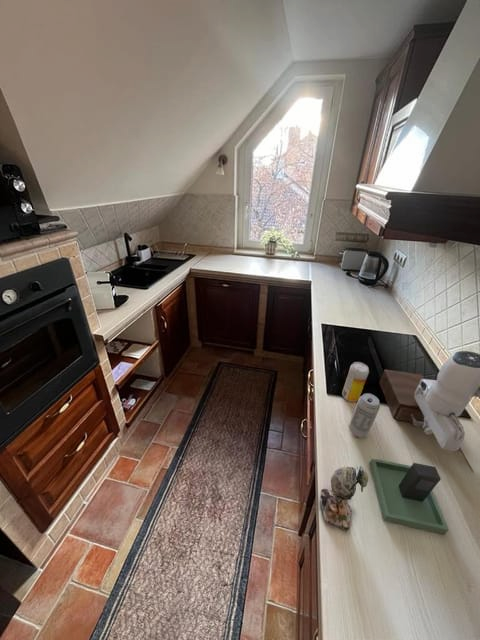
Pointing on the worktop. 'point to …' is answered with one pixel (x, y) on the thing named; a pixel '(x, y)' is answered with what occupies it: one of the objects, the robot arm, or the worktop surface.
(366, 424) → the energy drink can
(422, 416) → the drawer
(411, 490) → the dark grey block
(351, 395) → the beer can
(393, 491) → the tray
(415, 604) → the worktop surface
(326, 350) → the worktop surface
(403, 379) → the cabinet
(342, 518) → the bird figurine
